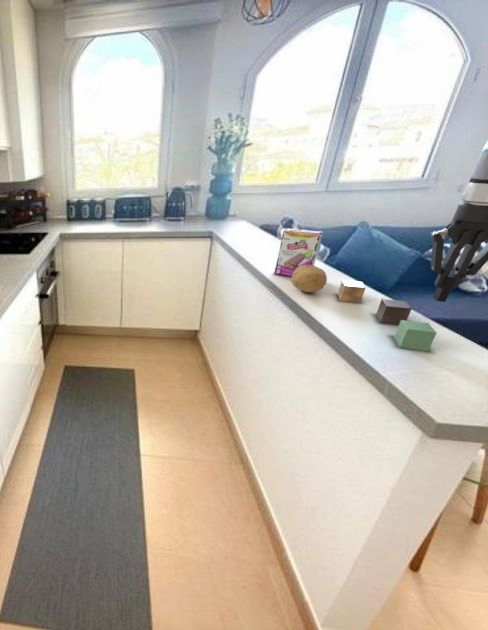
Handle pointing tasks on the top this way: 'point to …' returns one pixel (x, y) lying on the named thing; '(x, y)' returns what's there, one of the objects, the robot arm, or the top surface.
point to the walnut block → (393, 311)
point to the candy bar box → (297, 250)
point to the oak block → (351, 291)
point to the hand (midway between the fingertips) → (438, 299)
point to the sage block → (414, 335)
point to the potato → (309, 278)
